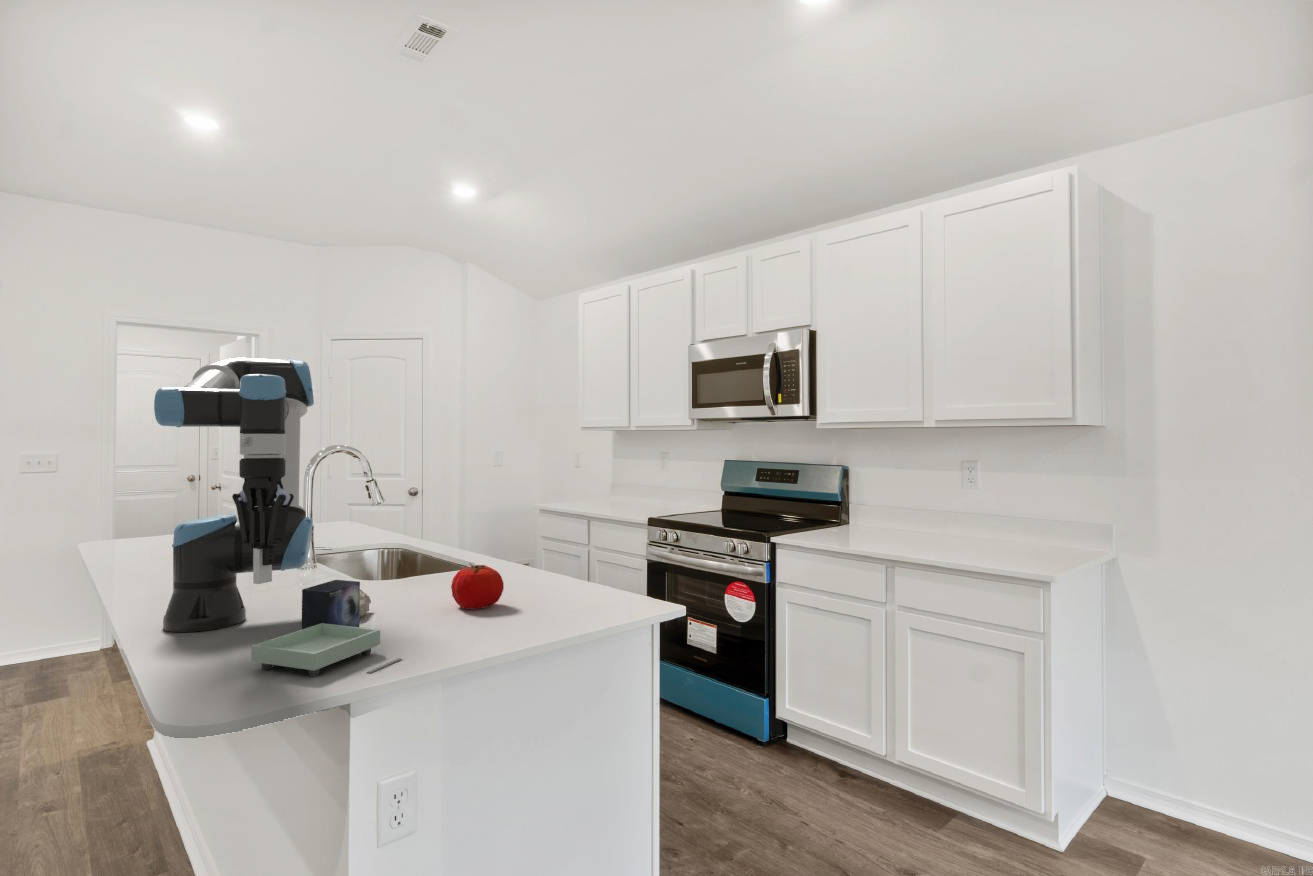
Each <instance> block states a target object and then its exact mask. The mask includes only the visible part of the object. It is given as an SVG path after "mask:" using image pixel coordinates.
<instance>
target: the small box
mask: <svg viewBox="0 0 1313 876" xmlns="http://www.w3.org/2000/svg"><path fill="white" fill-rule="evenodd" d="M360 590H361V581H355V580H354V581H353V580H345V579H334V580H330V581H327V582H324V583H319V584H317V585H313V586H310V587H306V588H303V589H302V590H301V629H300V630H302V629H305V628H308V627H311V626H315V625H318V624H321V623H325V624H333V625H342V626H351V627H360V618H359V609H360Z"/></svg>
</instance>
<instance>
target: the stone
mask: <svg viewBox="0 0 1313 876" xmlns="http://www.w3.org/2000/svg"><path fill="white" fill-rule="evenodd" d="M371 603H372V601H371V597H370V596H369V595H368V594H367V593H366V592H364V591H363V590H362V589H360V609H359V619H360V618H361V617H363V616H364V615H365V616H366V613H367V612H369V611H370V604H371Z"/></svg>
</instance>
